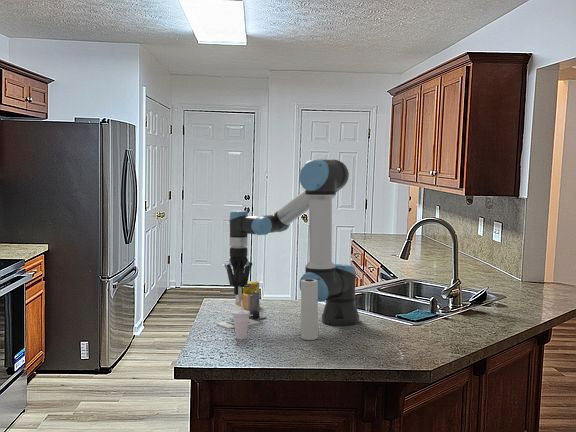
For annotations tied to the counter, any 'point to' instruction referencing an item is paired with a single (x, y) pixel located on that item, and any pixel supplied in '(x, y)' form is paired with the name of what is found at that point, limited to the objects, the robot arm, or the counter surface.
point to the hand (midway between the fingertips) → (238, 301)
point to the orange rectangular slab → (247, 303)
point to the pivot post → (256, 307)
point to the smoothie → (241, 323)
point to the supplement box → (251, 287)
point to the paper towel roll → (309, 309)
